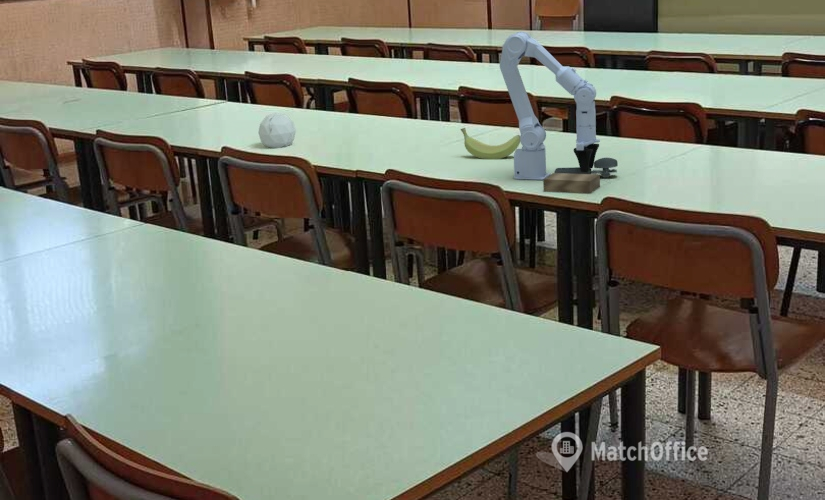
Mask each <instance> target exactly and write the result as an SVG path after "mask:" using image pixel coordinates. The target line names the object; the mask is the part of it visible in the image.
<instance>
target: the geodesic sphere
mask: <svg viewBox="0 0 825 500" xmlns="http://www.w3.org/2000/svg"><path fill="white" fill-rule="evenodd" d="M296 133H297V130H296V127H295V124H294V121H293V120H292V119H291V118H290V117H289V116H288V115H286V114H285V113H283V114H282V113H277V112H274V113H272V114H268V115H266V116H265V117H264V118H263V120H262V121H261V122H260V123H259V128H258V136H259V140H260V143H262V144H263V145H264V146H265V147H266V148H269V149H272V148H273V149H279V148H285V147H289V146H291V144H292V143H293V142H294V140H295V135H296Z"/></svg>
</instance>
